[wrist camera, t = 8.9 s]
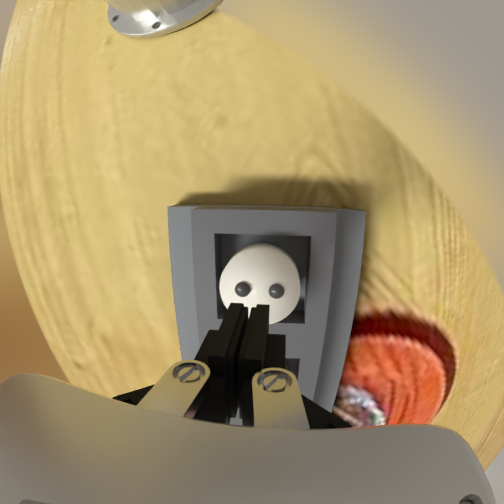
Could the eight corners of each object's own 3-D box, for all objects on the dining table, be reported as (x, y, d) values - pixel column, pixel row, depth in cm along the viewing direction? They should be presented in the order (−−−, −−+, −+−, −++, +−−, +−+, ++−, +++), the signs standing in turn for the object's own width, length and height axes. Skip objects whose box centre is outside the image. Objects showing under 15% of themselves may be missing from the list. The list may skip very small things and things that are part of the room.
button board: (175, 204, 20) (155, 210, 17) (360, 209, 19) (375, 215, 16) (201, 436, 27) (194, 456, 24) (317, 444, 26) (318, 466, 22)
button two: (225, 241, 18) (217, 249, 16) (300, 243, 17) (303, 252, 15) (227, 308, 19) (220, 323, 17) (296, 312, 18) (297, 328, 16)
